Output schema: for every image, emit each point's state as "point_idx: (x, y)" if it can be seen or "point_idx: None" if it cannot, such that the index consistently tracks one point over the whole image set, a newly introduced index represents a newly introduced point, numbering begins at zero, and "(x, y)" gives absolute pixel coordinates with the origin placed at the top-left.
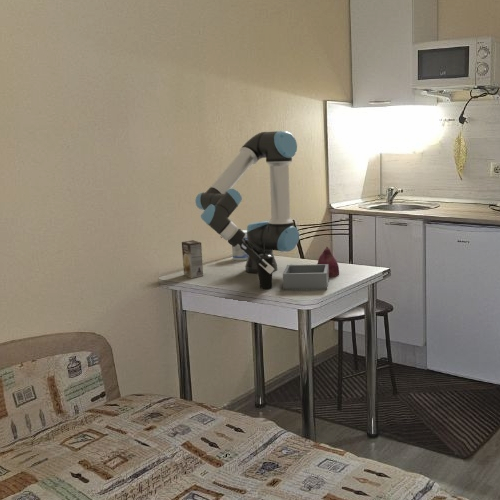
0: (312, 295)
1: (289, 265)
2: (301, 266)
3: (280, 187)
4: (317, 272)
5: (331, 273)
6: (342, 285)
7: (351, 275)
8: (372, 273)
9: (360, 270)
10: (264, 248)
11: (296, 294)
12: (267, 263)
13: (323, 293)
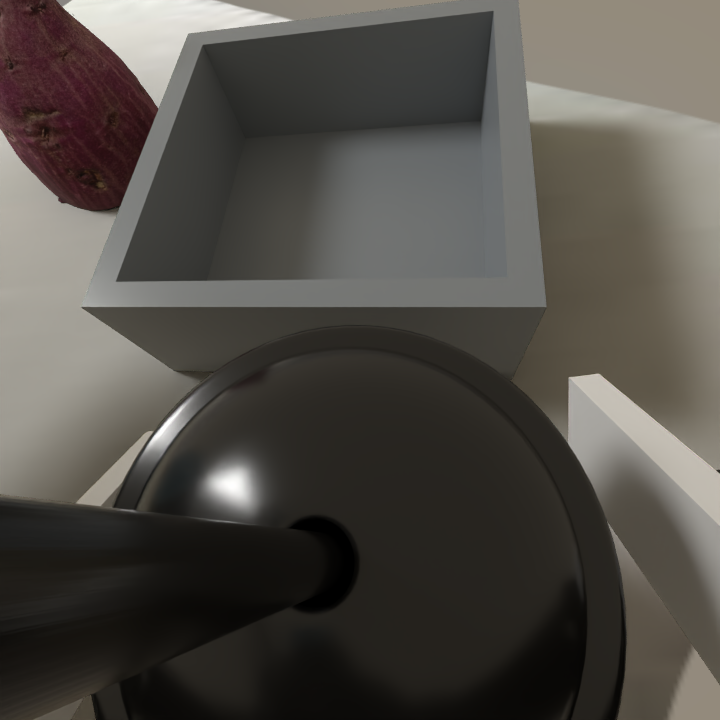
0: (663, 176)
1: (111, 283)
2: (156, 196)
3: None
4: (215, 142)
5: None
6: None
7: (173, 64)
8: (167, 4)
9: None
10: (264, 538)
11: (644, 275)
12: (705, 465)
13: (596, 127)
